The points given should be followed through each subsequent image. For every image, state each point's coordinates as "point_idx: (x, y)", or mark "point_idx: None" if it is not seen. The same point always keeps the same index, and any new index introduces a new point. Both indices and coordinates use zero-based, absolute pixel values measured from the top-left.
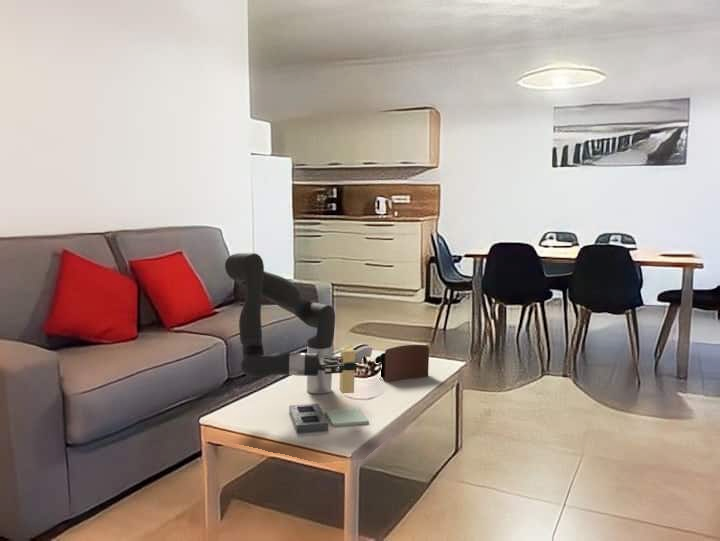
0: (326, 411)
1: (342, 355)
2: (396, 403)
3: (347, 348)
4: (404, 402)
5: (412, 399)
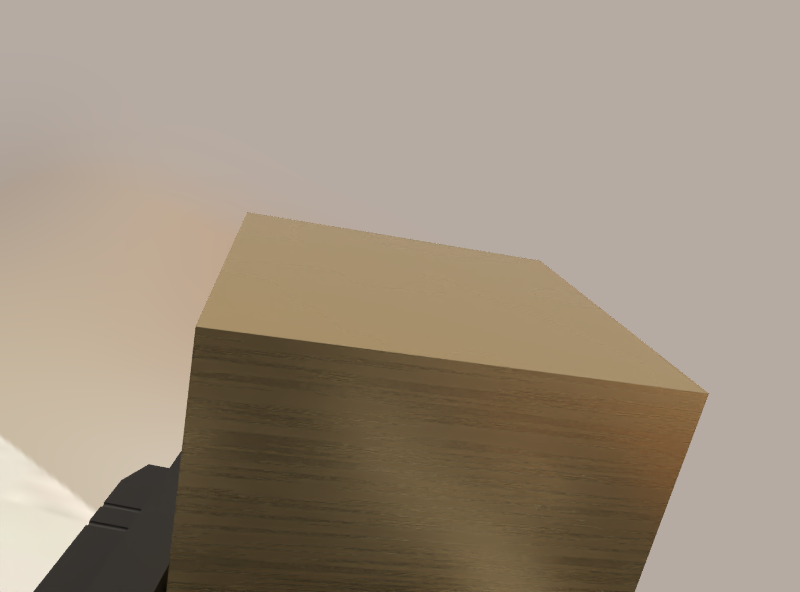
0: None
1: (547, 545)
2: (24, 572)
3: (258, 251)
4: (39, 528)
5: (19, 480)
